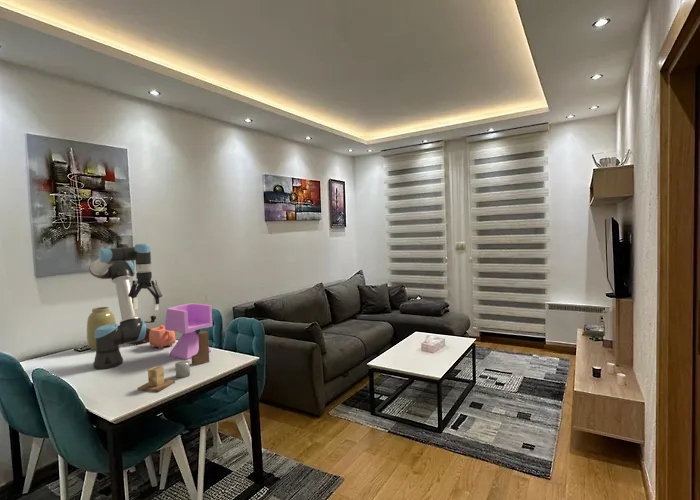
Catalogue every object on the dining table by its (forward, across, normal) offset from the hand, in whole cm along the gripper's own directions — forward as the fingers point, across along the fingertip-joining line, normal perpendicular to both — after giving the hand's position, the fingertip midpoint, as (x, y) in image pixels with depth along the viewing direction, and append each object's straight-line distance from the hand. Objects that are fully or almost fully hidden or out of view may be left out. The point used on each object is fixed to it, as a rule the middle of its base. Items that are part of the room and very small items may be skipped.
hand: (146, 309), depth 219 cm
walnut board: (+35, +20, -18) cm, 44 cm away
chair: (+35, +4, +31) cm, 47 cm away
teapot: (+35, -26, +42) cm, 61 cm away
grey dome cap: (+35, +24, -3) cm, 42 cm away
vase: (+35, -65, +32) cm, 80 cm away
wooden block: (+35, +21, +17) cm, 44 cm away
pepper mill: (+35, -47, +49) cm, 76 cm away
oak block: (+34, +20, -18) cm, 43 cm away
